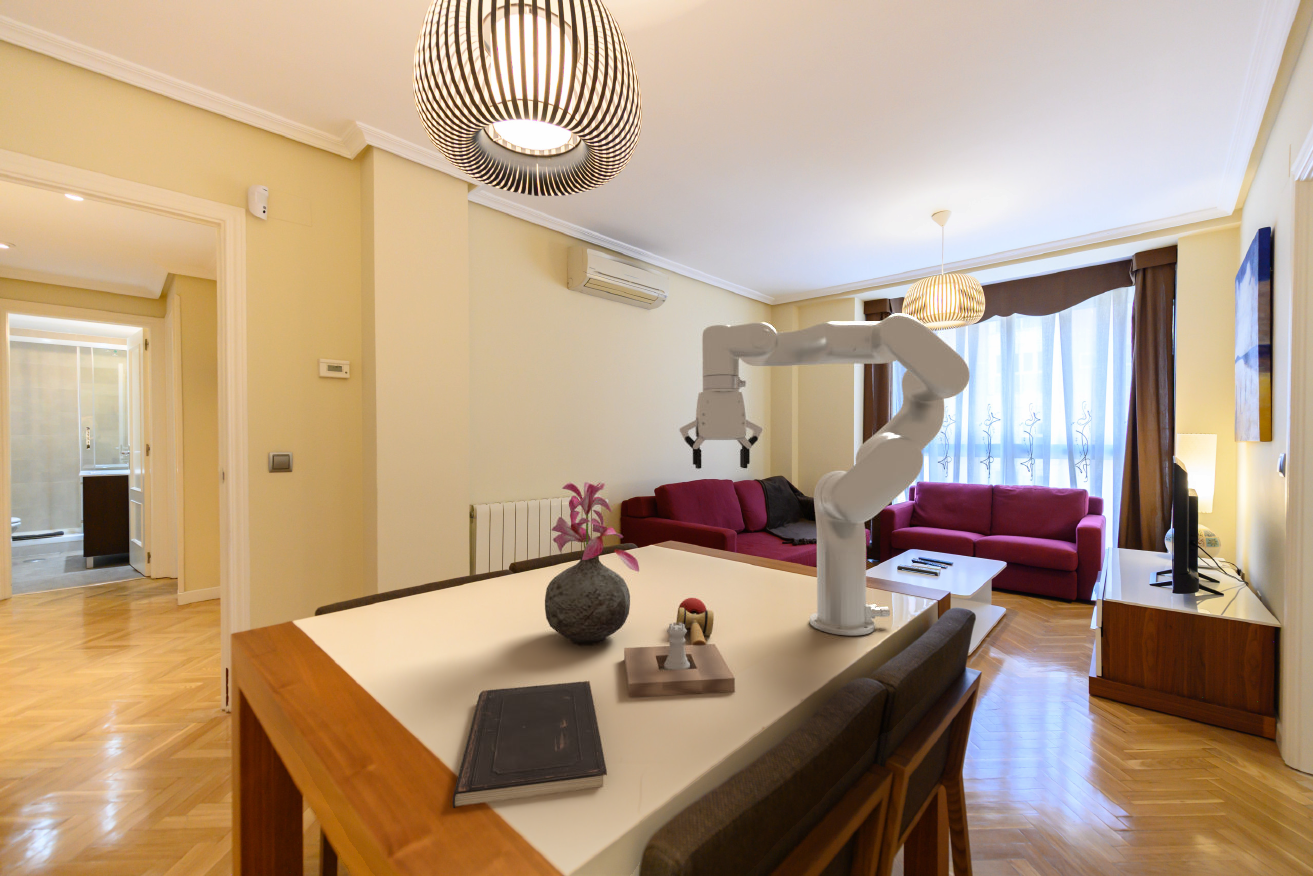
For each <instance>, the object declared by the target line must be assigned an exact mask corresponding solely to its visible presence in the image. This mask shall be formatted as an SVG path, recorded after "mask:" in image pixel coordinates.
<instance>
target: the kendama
mask: <svg viewBox="0 0 1313 876" xmlns="http://www.w3.org/2000/svg"><path fill="white" fill-rule="evenodd" d="M714 618H715V617H714V611H713V610H712V609H711V610H710V609H707V606H706V605H705V603H704V602H703V601H702V600H701V599H700V598H696V597H688V598H685V599H683V600H682V601H681V603H680V604H679V605H678V607H677V614H676V621H675V622H676V625H679V623H682V624H684V625H685V629H687V628H688V629H690V645H701V644H707V642H706V639H705V637H704V636H708V637H709V636H710V637H711V635H712V632H713V629H714V628H713V627H714V621H715V619H714Z"/></svg>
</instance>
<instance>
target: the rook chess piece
mask: <svg viewBox="0 0 1313 876" xmlns="http://www.w3.org/2000/svg"><path fill="white" fill-rule="evenodd" d="M666 632H667V634H668V635H669V638H668V642H669V646H670V647H669V655H668V657H667V659H666V661H665V663H664V667H663V668H664V669H663V670H683V669H691V666H690V663H689V662H688V661H687V657H686V654H685V647H684V645H685V643H686V638H685V636H686V634H687V632H688V630H687V628H685V625H684V624H682V623H679V625H676V621H675V622H673V623H669V625H668V628H667V630H666Z"/></svg>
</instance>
